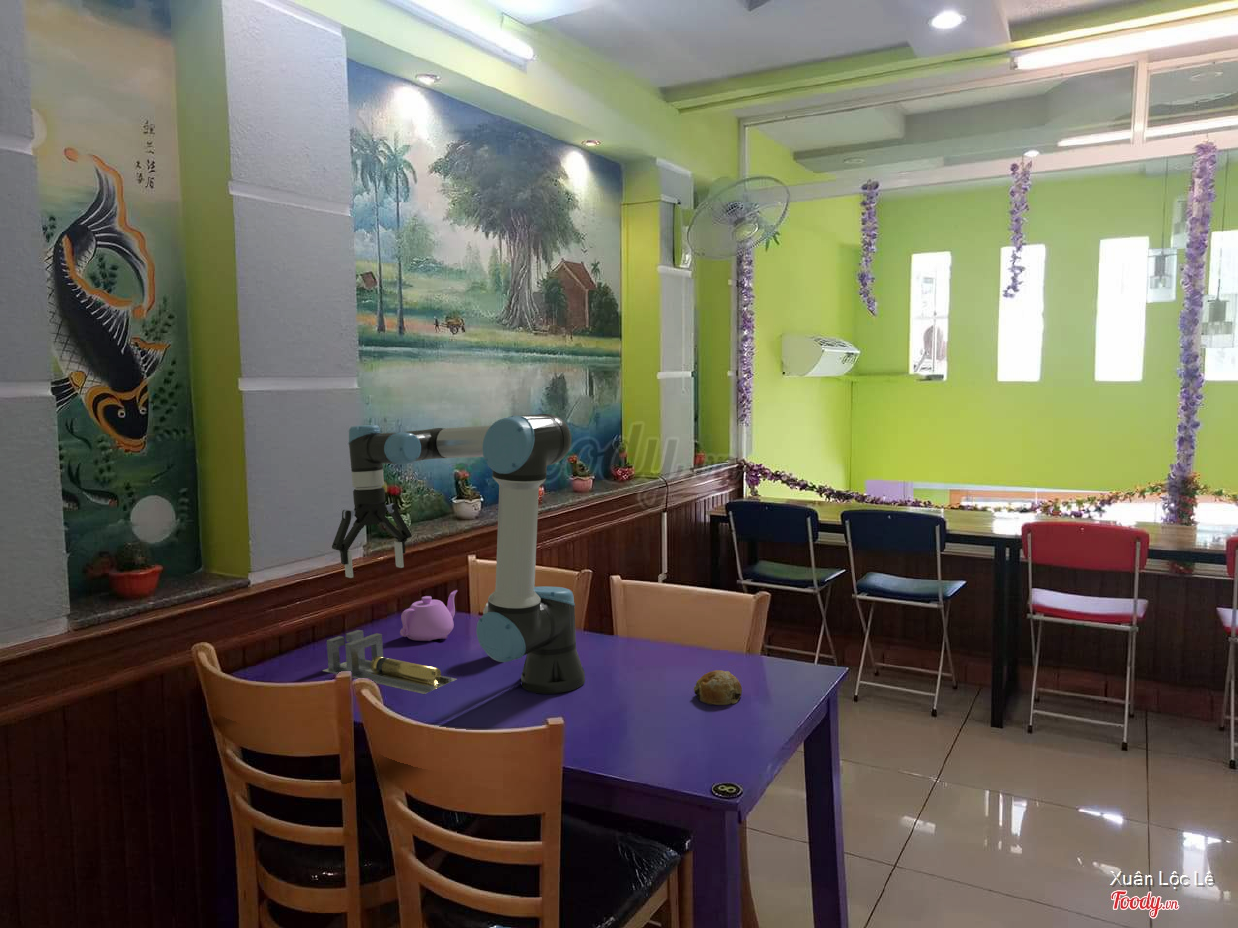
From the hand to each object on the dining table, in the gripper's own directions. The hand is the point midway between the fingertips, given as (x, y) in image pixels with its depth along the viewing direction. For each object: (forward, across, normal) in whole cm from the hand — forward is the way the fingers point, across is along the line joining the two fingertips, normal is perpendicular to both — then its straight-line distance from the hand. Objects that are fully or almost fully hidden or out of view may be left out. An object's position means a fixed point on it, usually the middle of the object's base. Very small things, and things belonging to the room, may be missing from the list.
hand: (375, 572), depth 215 cm
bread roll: (+28, -43, +74) cm, 90 cm away
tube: (+25, 0, +11) cm, 27 cm away
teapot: (+26, -24, -17) cm, 40 cm away
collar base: (+26, +1, +5) cm, 26 cm away
